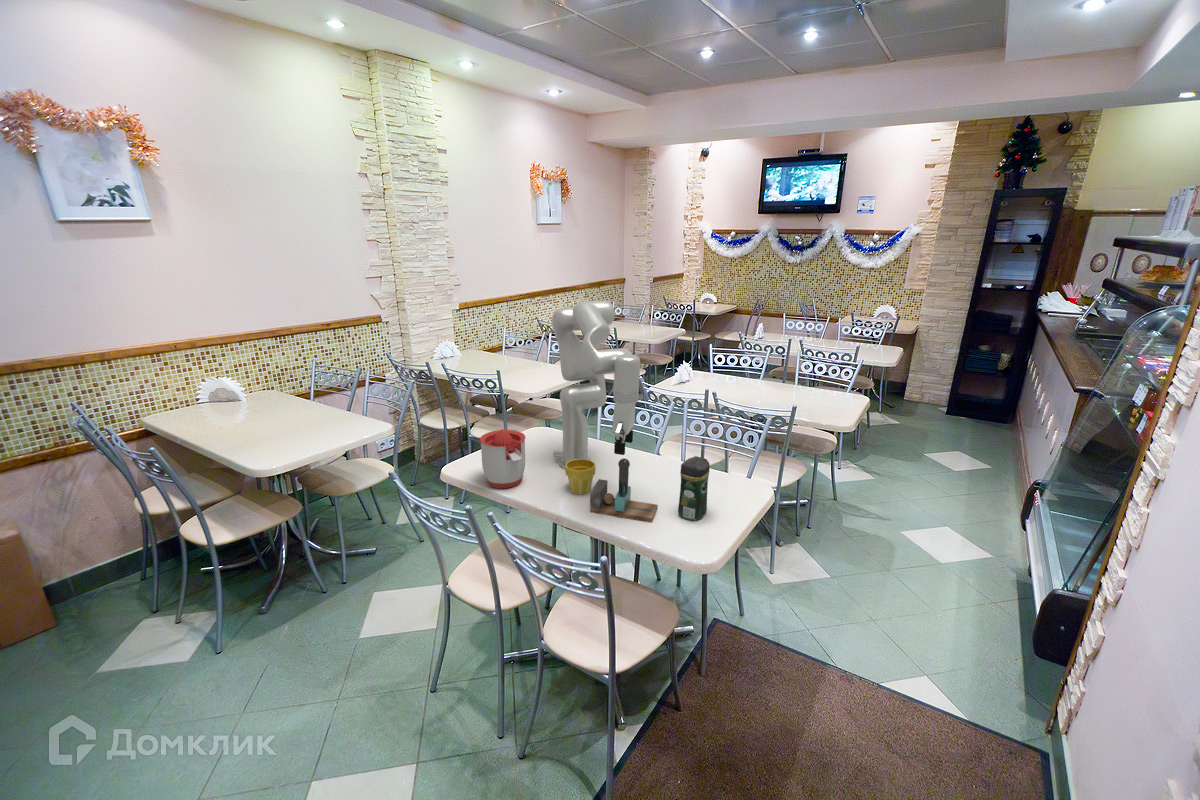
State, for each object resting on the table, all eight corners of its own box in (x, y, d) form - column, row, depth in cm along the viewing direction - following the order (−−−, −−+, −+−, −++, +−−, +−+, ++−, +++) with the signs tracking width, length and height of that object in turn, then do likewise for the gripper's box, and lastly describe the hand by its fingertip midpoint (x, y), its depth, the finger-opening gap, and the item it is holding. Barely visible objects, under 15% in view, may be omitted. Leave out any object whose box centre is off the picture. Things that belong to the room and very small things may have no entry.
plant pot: (565, 483, 183) (564, 458, 180) (594, 483, 184) (594, 457, 181) (565, 497, 173) (565, 471, 170) (596, 496, 174) (596, 470, 171)
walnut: (601, 505, 165) (601, 495, 164) (604, 500, 168) (605, 490, 167) (612, 507, 164) (612, 497, 163) (615, 502, 167) (615, 492, 166)
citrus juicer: (498, 498, 172) (495, 442, 166) (474, 480, 185) (471, 427, 179) (537, 485, 182) (536, 432, 176) (512, 468, 194) (510, 418, 188)
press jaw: (614, 510, 162) (615, 463, 157) (620, 498, 169) (621, 453, 164) (625, 512, 161) (626, 464, 156) (631, 500, 168) (632, 454, 163)
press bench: (590, 512, 164) (590, 491, 162) (598, 499, 172) (598, 479, 170) (651, 522, 158) (652, 500, 156) (657, 508, 167) (658, 487, 164)
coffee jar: (687, 504, 170) (690, 452, 164) (709, 511, 166) (714, 458, 160) (673, 516, 162) (677, 462, 157) (696, 524, 158) (701, 468, 153)
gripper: (621, 386, 163) (619, 436, 168) (605, 402, 147) (603, 457, 153) (644, 388, 161) (641, 439, 166) (631, 405, 145) (628, 461, 151)
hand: (623, 447), depth 160 cm, fingers open, 9 cm apart
